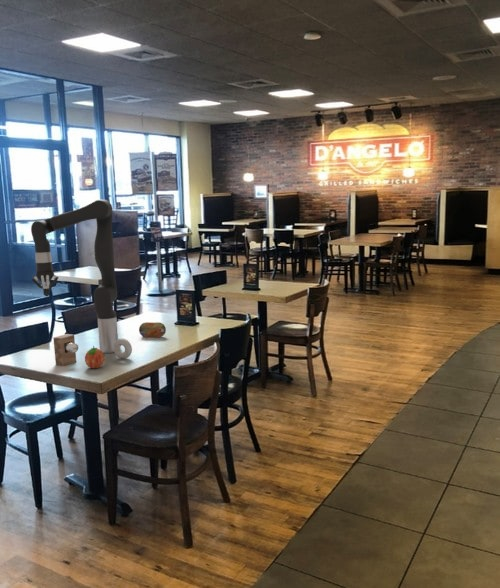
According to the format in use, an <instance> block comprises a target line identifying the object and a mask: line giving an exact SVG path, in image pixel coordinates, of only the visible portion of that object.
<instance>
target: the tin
mask: <svg viewBox="0 0 500 588" xmlns="http://www.w3.org/2000/svg"><path fill="white" fill-rule="evenodd" d="M138 331H139V335H141V337H143V338H147V339H150V338H151V339H152V338H153V339H159V338H162V337H163V336H165V334H166V332H167V329H166V326H165V324H164V323H162V322H159V321H158V322H154V321H153V322H148V321H147V322H143V323H141V324H140V325H139V328H138Z"/></svg>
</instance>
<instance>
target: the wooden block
mask: <svg viewBox="0 0 500 588" xmlns="http://www.w3.org/2000/svg"><path fill="white" fill-rule="evenodd" d="M52 339H53V349H54V359H55V360H54V361H55V365H56V366H61V367H64V366H67V365H70V364H74V363H77V352H68V351H65V347H64V343H74V344H76V342H75V339H76V338H75V334H72V333H71V334H69V333H65V334H62V335H58V336H54V337H52Z"/></svg>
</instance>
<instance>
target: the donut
mask: <svg viewBox="0 0 500 588" xmlns="http://www.w3.org/2000/svg"><path fill="white" fill-rule="evenodd" d="M121 346H122V347H124V351H123V350H122V348H121ZM113 349H114V352H113V353H114V354H115V356H116V357H118V358H119V359H122V360H125V359H126V360H127V359H128V358H129V357H131V355H132V353H133V347H132V344H131V342H130V341H129V340H127V339H126V338H121V337H120V338H118V340H116V341H115V343H114V345H113Z"/></svg>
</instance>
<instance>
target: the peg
mask: <svg viewBox="0 0 500 588" xmlns="http://www.w3.org/2000/svg"><path fill="white" fill-rule="evenodd" d="M64 347H65V351H68V352H76V353H77V352H78V350H79V344H78V343H75V344H74V343H64Z"/></svg>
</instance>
